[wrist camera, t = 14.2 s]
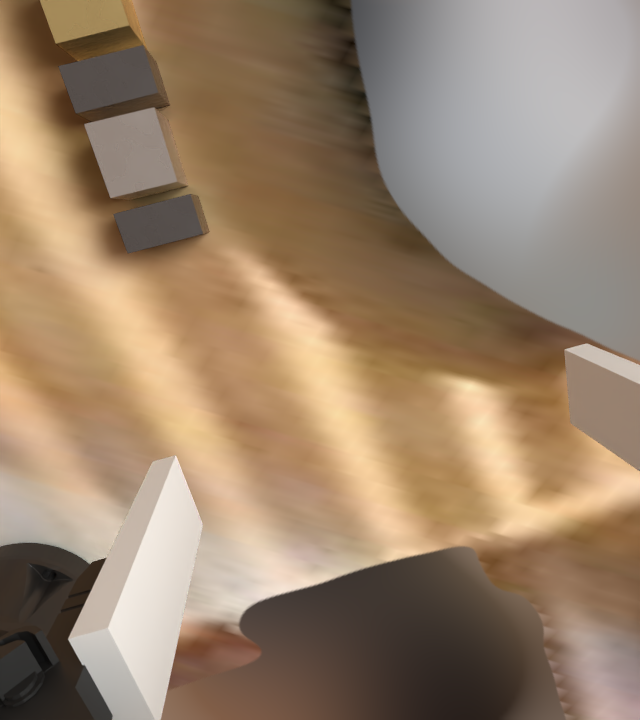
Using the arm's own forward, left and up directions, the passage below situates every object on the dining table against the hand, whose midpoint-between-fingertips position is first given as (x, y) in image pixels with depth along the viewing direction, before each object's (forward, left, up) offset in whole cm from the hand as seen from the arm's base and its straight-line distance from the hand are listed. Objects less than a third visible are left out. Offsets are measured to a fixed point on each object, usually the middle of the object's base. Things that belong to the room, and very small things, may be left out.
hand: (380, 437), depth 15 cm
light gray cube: (-10, +14, -29) cm, 34 cm away
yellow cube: (-10, +24, -29) cm, 39 cm away
